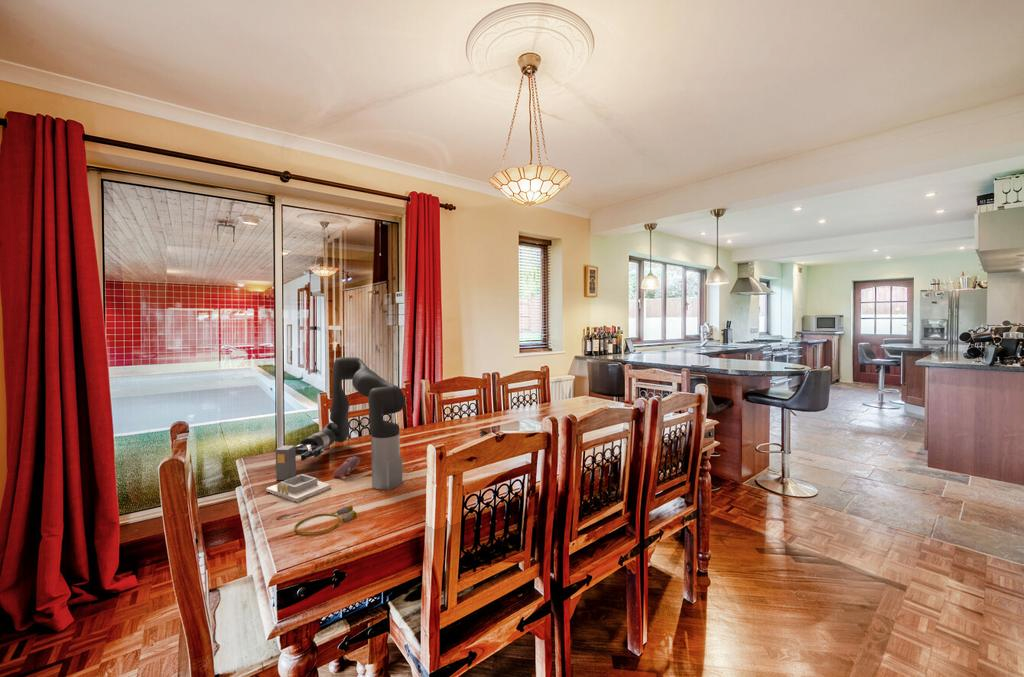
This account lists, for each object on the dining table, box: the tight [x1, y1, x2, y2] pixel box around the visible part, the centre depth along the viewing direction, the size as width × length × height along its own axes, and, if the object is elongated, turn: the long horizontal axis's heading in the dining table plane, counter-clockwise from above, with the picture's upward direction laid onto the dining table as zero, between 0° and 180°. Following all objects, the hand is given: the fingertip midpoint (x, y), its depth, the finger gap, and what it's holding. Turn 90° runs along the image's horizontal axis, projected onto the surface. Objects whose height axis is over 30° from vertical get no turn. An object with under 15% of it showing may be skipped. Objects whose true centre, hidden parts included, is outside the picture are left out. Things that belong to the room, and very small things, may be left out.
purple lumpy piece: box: [332, 455, 362, 478], centre depth 149 cm, size 10×5×7 cm, turn 169°
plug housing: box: [275, 445, 297, 481], centre depth 144 cm, size 4×5×11 cm
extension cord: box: [293, 504, 357, 536], centre depth 113 cm, size 12×16×2 cm
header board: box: [265, 473, 332, 503], centre depth 134 cm, size 16×12×4 cm
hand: (290, 457), depth 146 cm, fingers open, 8 cm apart
